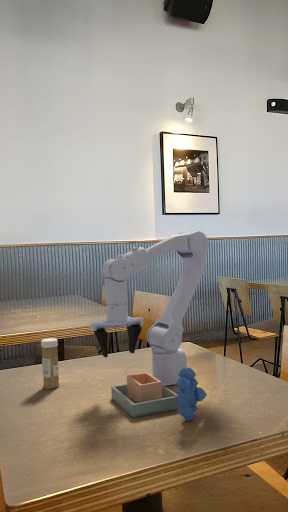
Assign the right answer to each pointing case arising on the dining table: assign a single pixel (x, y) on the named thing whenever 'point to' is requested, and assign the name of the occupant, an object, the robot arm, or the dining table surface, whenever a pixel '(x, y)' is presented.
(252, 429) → the dining table surface
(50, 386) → the sprinkles bottle
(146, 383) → the small crate
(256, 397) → the dining table surface
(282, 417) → the dining table surface
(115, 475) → the dining table surface
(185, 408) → the grapes
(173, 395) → the base crate
